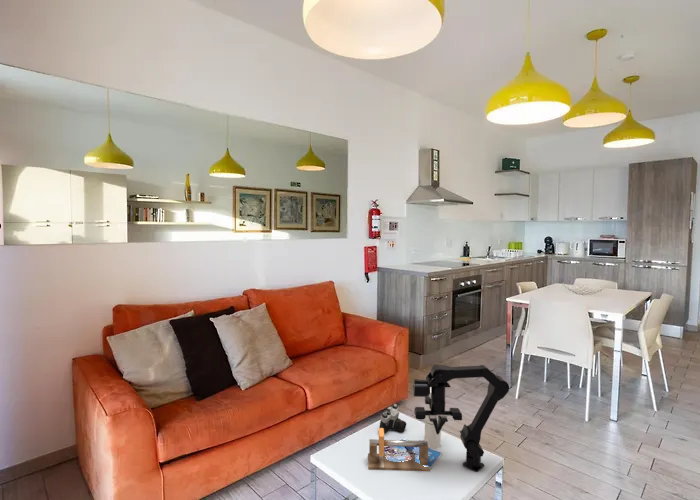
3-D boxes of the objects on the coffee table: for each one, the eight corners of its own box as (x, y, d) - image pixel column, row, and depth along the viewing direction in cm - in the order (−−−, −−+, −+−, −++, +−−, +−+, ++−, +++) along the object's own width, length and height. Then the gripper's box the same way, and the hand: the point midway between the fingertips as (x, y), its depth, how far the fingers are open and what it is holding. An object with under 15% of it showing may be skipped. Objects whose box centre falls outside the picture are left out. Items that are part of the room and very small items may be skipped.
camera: (395, 442, 179) (399, 422, 178) (375, 431, 185) (379, 412, 184) (408, 428, 192) (411, 410, 190) (388, 419, 197) (392, 401, 196)
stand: (426, 457, 165) (426, 437, 164) (430, 471, 155) (430, 450, 154) (368, 455, 166) (368, 436, 165) (368, 469, 156) (368, 449, 155)
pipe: (426, 445, 161) (426, 439, 161) (427, 448, 158) (427, 442, 158) (369, 443, 162) (369, 437, 162) (369, 447, 159) (369, 441, 159)
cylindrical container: (439, 440, 178) (440, 387, 177) (441, 449, 171) (442, 393, 170) (423, 439, 179) (424, 386, 178) (425, 448, 172) (426, 393, 171)
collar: (383, 446, 164) (383, 428, 163) (384, 455, 157) (384, 436, 156) (378, 446, 164) (378, 427, 164) (379, 455, 157) (379, 436, 157)
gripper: (456, 389, 166) (455, 424, 167) (412, 388, 167) (412, 423, 167) (462, 400, 155) (462, 438, 156) (416, 399, 156) (415, 436, 156)
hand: (437, 433), depth 159 cm, fingers closed
